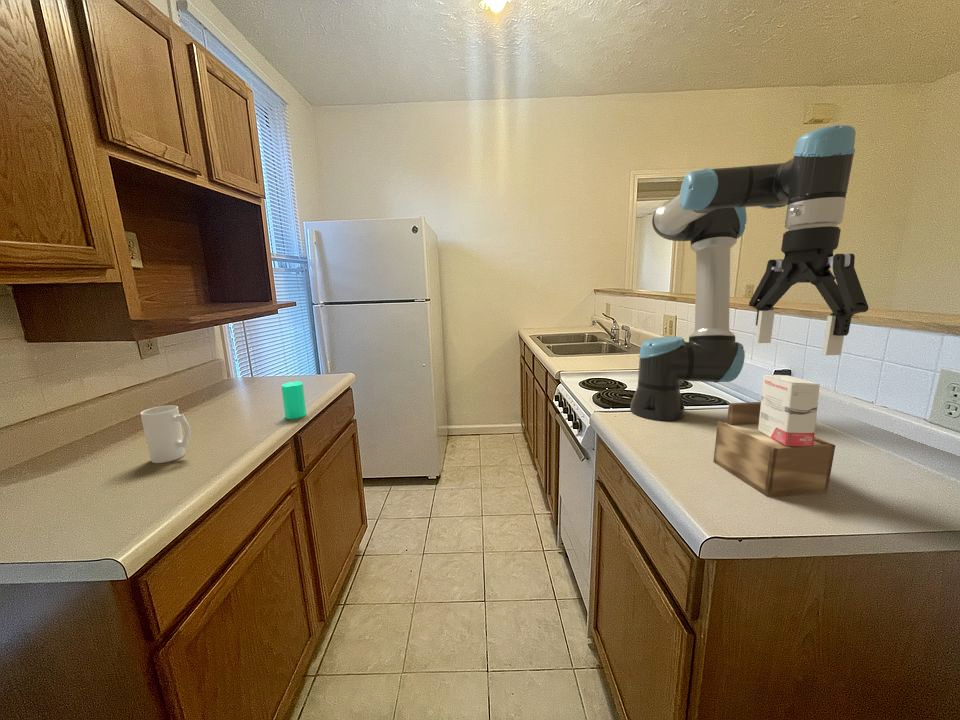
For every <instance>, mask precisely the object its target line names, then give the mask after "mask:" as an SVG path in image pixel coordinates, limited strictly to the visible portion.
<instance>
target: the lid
mask: <svg viewBox="0 0 960 720" xmlns="http://www.w3.org/2000/svg"><path fill="white" fill-rule="evenodd" d="M760 407H761V401H753V402H751V401H750V402H749V401H748V402H729V403H728V410H727V411H728V412H727V418H726V422H724V423H725V424H727V425H729V426H731V427H733V428H736V429H738V430H740V431H742V432H744V433H746V434H748V435H750V436H752V437H754V438H756V439H759V440H761V441H763V442H765V443H767V444H769V445H771V446H773V447H783V446H786V445H784V444H782V443H780V442H778V441H776V440H775V439H773V438H771V437H769V436H767V435H765V434H764V433H762V432H760V431H758V427H759V417H760ZM820 444H821V443H819V442H816V441H814V445H820Z"/></svg>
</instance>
